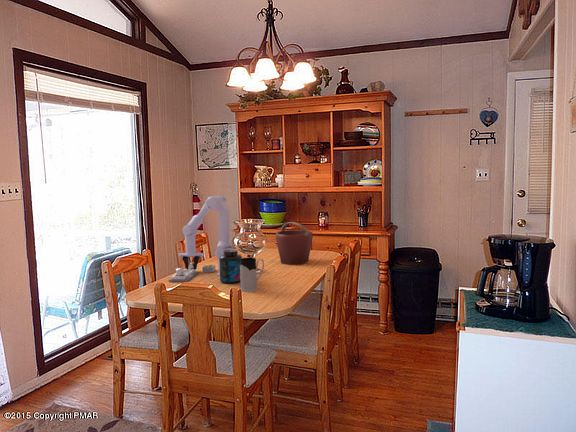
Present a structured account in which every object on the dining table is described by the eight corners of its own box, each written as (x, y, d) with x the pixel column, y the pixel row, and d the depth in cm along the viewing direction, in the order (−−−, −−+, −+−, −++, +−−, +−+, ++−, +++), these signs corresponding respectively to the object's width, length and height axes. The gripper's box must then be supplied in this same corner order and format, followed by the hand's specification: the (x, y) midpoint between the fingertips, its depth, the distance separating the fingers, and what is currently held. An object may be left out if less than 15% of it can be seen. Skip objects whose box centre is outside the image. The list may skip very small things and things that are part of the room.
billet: (196, 271, 267) (195, 263, 267) (189, 272, 265) (189, 264, 265) (193, 270, 271) (193, 262, 270) (187, 271, 269) (186, 263, 268)
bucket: (318, 264, 280) (317, 222, 277) (284, 267, 272) (282, 225, 269) (302, 257, 303) (301, 219, 300) (270, 260, 294) (268, 221, 292)
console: (212, 272, 265) (212, 267, 264) (202, 272, 265) (202, 267, 265) (215, 270, 271) (215, 265, 270) (205, 270, 271) (205, 265, 271)
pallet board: (187, 281, 244) (187, 276, 243) (168, 281, 245) (168, 276, 244) (198, 273, 264) (197, 268, 263) (180, 273, 264) (180, 268, 264)
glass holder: (236, 289, 225) (235, 259, 223) (258, 284, 235) (257, 254, 233) (247, 292, 219) (246, 261, 217) (270, 287, 229) (269, 257, 227)
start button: (210, 271, 266) (210, 265, 266) (205, 271, 267) (205, 265, 266) (212, 270, 269) (212, 264, 269) (207, 270, 270) (206, 264, 269)
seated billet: (185, 277, 247) (184, 268, 247) (178, 279, 245) (177, 269, 245) (182, 276, 251) (182, 267, 250) (175, 277, 249) (175, 268, 248)
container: (221, 278, 248) (220, 249, 247) (243, 278, 248) (242, 248, 247) (218, 284, 237) (217, 253, 235) (242, 283, 237) (240, 252, 235)
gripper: (204, 244, 270) (205, 267, 271) (180, 244, 271) (181, 267, 272) (201, 246, 263) (202, 270, 264) (176, 247, 264) (177, 270, 265)
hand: (191, 269), depth 268 cm, fingers closed on billet, 4 cm apart
